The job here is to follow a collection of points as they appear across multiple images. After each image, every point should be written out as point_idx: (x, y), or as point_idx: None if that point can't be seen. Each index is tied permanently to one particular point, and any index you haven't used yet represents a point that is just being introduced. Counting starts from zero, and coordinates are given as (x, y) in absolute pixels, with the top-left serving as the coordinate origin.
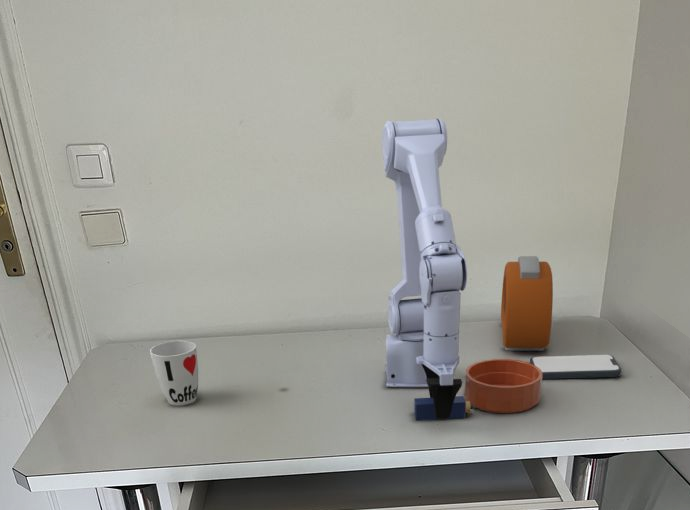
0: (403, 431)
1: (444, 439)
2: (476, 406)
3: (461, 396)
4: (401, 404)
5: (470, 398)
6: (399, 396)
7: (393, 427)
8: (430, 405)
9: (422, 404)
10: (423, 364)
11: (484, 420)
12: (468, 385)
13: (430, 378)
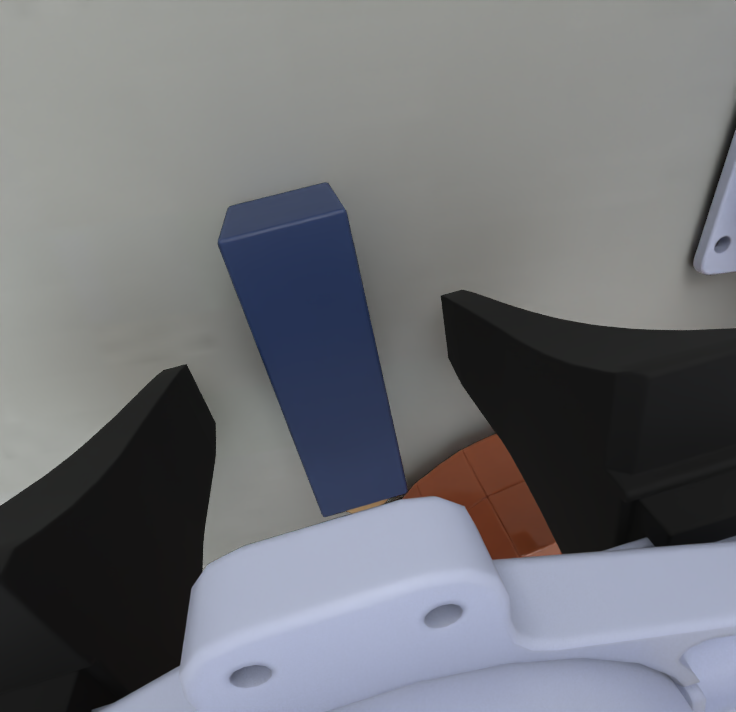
0: (14, 134)
1: (19, 405)
2: (415, 485)
3: (397, 488)
4: (491, 54)
5: (461, 476)
6: (631, 18)
7: (54, 31)
8: (255, 341)
9: (236, 291)
10: (619, 396)
11: (305, 515)
12: (512, 511)
13: (23, 618)
